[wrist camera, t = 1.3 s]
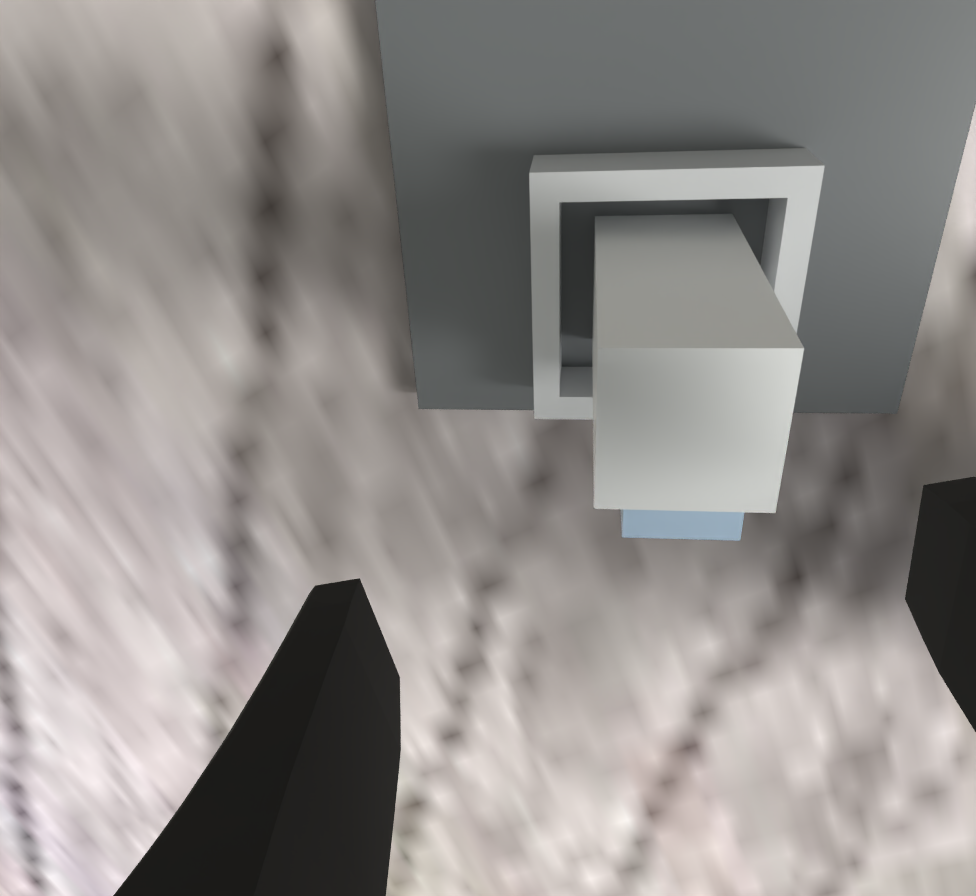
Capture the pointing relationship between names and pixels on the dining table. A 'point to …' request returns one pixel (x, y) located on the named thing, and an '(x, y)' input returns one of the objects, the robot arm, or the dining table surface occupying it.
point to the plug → (687, 377)
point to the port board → (669, 174)
